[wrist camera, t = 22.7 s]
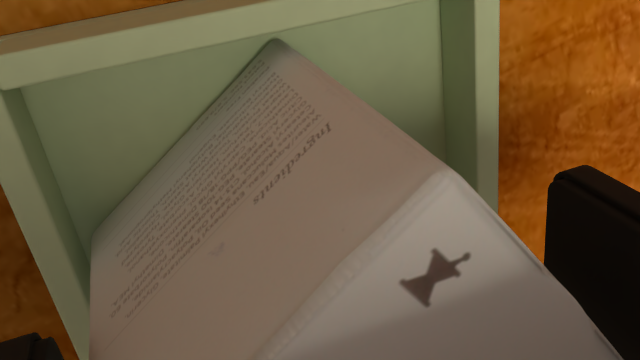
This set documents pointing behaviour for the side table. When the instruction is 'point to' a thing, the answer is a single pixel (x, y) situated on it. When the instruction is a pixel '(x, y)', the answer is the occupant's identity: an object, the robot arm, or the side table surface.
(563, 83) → the side table surface
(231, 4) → the sage tray
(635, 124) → the side table surface
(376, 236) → the white cardboard box
